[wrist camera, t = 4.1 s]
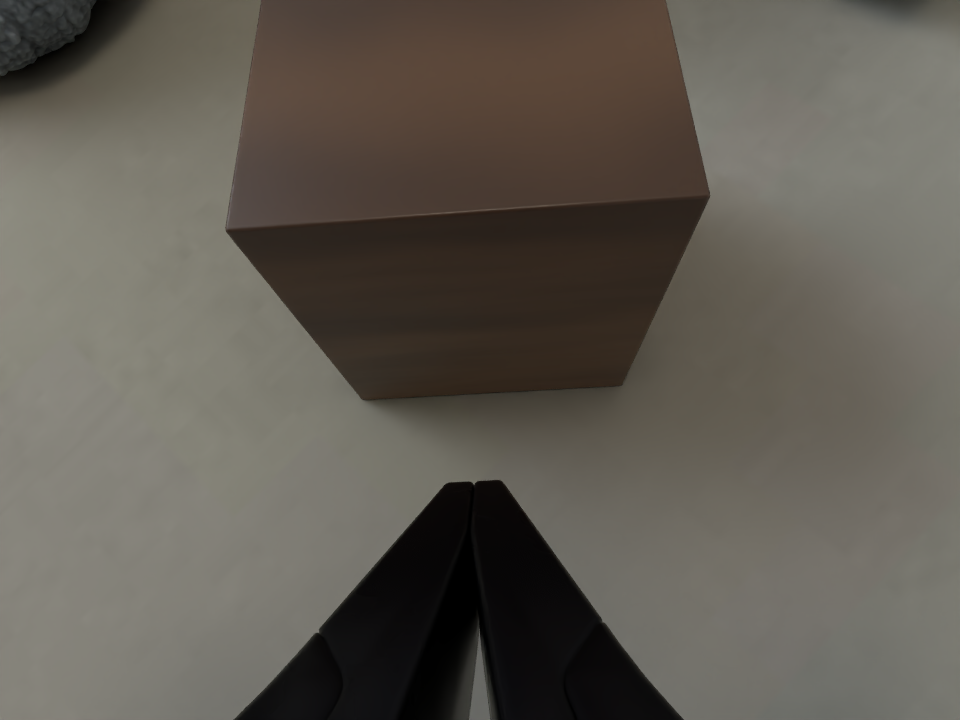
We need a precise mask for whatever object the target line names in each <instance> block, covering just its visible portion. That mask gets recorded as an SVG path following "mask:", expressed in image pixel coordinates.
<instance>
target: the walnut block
mask: <svg viewBox="0 0 960 720" xmlns="http://www.w3.org/2000/svg"><path fill="white" fill-rule="evenodd" d="M709 198H710V192H709V188H708V183H707V179H706V174H705V170H704V166H703V161H702V157H701V153H700V148H699V144H698V139H697V135H696V131H695V126H694V122H693V118H692V113H691V109H690V104H689V100H688V96H687V91H686V87H685V83H684V78H683V74H682V69H681V65H680V61H679V56H678V52H677V48H676V43H675V39H674V35H673V30H672V26H671V21H670V17H669V13H668V8H667V4H666V0H261V6H260V12H259V19H258V25H257V31H256V38H255V44H254V50H253V57H252V63H251V69H250V76H249V82H248V88H247V95H246V101H245V108H244V114H243V120H242V127H241V133H240V139H239V146H238V152H237V158H236V165H235V171H234V177H233V184H232V190H231V196H230V203H229V209H228V215H227V222H226V232H227V233H228V235H229V236H230V237H231V238H232V240H233V241H234V242H235V243H236V245H237V246H238V247H239V248H240V249H241V251H242V252H243V253H244V254H245V256H246V257H247V258H248V259H249V261H250V262H251V263H252V264H253V266H254V267H255V268H256V269H257V270H258V272H259V273H260V274H261V275H262V277H263V278H264V279H265V280H266V282H267V283H268V284H269V285H270V287H271V288H272V289H273V290H274V291H275V293H276V294H277V295H278V296H279V298H280V299H281V300H282V301H283V303H284V304H285V305H286V306H287V307H288V309H289V310H290V311H291V312H292V314H293V315H294V316H295V317H296V319H297V320H298V321H299V322H300V324H301V325H302V326H303V327H304V328H305V330H306V331H307V332H308V333H309V335H310V336H311V337H312V338H313V340H314V341H315V342H316V343H317V344H318V346H319V347H320V348H321V349H322V351H323V352H324V353H325V354H326V356H327V357H328V358H329V359H330V361H331V362H332V363H333V364H334V365H335V367H336V368H337V369H338V370H339V372H340V373H341V374H342V375H343V377H344V378H345V379H346V380H347V382H348V383H349V384H350V385H351V386H352V388H353V389H354V390H355V391H356V393H357V394H358V395H359V396H360V398H361V399H363V400H369V399H387V398H405V397H423V396H441V395H459V394H477V393H494V392H512V391H530V390H548V389H566V388H584V387H602V386H620V385H622V384H623V382H624V380H625V378H626V376H627V373H628V371H629V369H630V367H631V365H632V363H633V361H634V358H635V356H636V354H637V352H638V350H639V348H640V346H641V343H642V341H643V339H644V337H645V335H646V333H647V331H648V328H649V326H650V324H651V322H652V320H653V318H654V316H655V313H656V311H657V309H658V307H659V305H660V303H661V301H662V299H663V296H664V294H665V292H666V290H667V288H668V286H669V284H670V281H671V279H672V277H673V275H674V273H675V271H676V269H677V266H678V264H679V262H680V260H681V258H682V256H683V254H684V251H685V249H686V247H687V245H688V243H689V241H690V239H691V236H692V234H693V232H694V230H695V228H696V226H697V224H698V221H699V219H700V217H701V215H702V213H703V211H704V209H705V206H706V204H707V202H708V200H709Z"/></svg>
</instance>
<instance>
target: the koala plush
mask: <svg viewBox="0 0 960 720" xmlns="http://www.w3.org/2000/svg"><path fill="white" fill-rule="evenodd" d="M95 2H96V0H0V76H4V75H5V74H7V72H8V71H14V70H19V69H22V68H24V67H25V66H26V65H28V64H30V63H34V62H35V61H36V59H37V57H38V56H43V55H44V54H48V53H49V52H51V51H53V50H57V49H59V48H61V47H62V46H63V45H64V44H65V43H69V42H73V41H75V38H74V36H75V35H78V34H81V33H83V31H84V30H86V29H87V25H88V24H89V19H90V14H91V9H92V7H93V5H94V4H95Z"/></svg>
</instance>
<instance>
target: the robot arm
mask: <svg viewBox="0 0 960 720" xmlns="http://www.w3.org/2000/svg"><path fill="white" fill-rule="evenodd" d="M479 629H480V639H481V649H482V657H483V665H484V672H485V680H486V688H487V696H488V703H489V711H490V719H491V720H684V719H683V718H682V717H681V716H680V715H679V714H678V713H677V712H676V711H675V710H674V708H673V707H672V706H671V705H670V704H669V703H668V702H667V700H666V699H665V698H664V697H663V696H662V695H661V694H660V693H659V691H658V690H657V689H656V688H655V687H654V686H653V685H652V684H651V682H650V681H649V680H648V679H647V678H646V677H645V675H644V674H643V673H642V672H641V670H640V669H639V668H638V666H637V665H636V664H635V663H634V661H633V660H632V659H631V657H630V656H629V655H628V654H627V652H626V651H625V650H624V648H623V647H622V646H621V645H620V643H619V642H618V640H617V639H616V638H615V636H614V635H613V633H612V632H611V631H610V629H609V628H608V626H607V625H606V624H605V623H603V622H602V619H601V617H600V616H599V614H598V613H597V612H596V610H595V609H594V608H593V606H592V605H591V603H590V602H589V601H588V599H587V598H586V596H585V595H584V594H583V592H582V591H581V590H580V588H579V587H578V585H577V584H576V583H575V581H574V580H573V578H572V577H571V576H570V574H569V573H568V572H567V570H566V569H565V567H564V566H563V565H562V563H561V562H560V560H559V559H558V558H557V556H556V555H555V554H554V552H553V551H552V549H551V548H550V547H549V545H548V544H547V542H546V541H545V540H544V538H543V537H542V536H541V534H540V533H539V531H538V530H537V529H536V527H535V526H534V524H533V523H532V522H531V520H530V519H529V518H528V516H527V515H526V513H525V512H524V511H523V509H522V508H521V506H520V505H519V504H518V502H517V501H516V500H515V498H514V497H513V495H512V494H511V493H510V491H509V490H508V488H507V487H506V486H505V484H504V483H503V482H502V481H500V480H490V481H478V482H476V483H475V485H474V484H473V483H472V482H450V483H447V484H445V485H444V486H443V488H442V489H441V490H440V491H439V492H438V493H437V494H436V496H435V497H434V498H433V499H432V500H431V501H430V502H429V504H428V505H427V506H426V507H425V508H424V509H423V510H422V512H421V513H420V514H419V515H418V516H417V517H416V518H415V520H414V521H413V522H412V523H411V524H410V525H409V526H408V528H407V529H406V530H405V531H404V532H403V533H402V535H401V536H400V537H399V538H398V539H397V540H396V541H395V543H394V544H393V545H392V546H391V547H390V548H389V549H388V551H387V552H386V553H385V554H384V555H383V556H382V557H381V559H380V560H379V561H378V562H377V563H376V564H375V565H374V567H373V568H372V569H371V570H370V571H369V572H368V574H367V575H366V576H365V577H364V578H363V579H362V580H361V582H360V583H359V584H358V585H357V586H356V587H355V588H354V590H353V591H352V592H351V593H350V594H349V595H348V596H347V598H346V599H345V600H344V601H343V602H342V603H341V604H340V606H339V607H338V608H337V609H336V610H335V611H334V612H333V614H332V615H331V616H330V617H329V618H328V619H327V621H326V622H325V623H324V624H323V625H322V626H321V627H320V629H319V633H315V634H314V635H313V636H312V637H311V639H310V640H309V641H308V642H307V643H306V644H305V645H304V647H303V648H302V649H301V650H300V651H299V652H298V653H297V655H296V656H295V657H294V658H293V659H292V660H291V661H290V662H289V663H288V664H287V665H286V666H285V668H284V669H283V670H282V671H281V672H280V673H279V674H278V675H277V676H276V677H275V678H274V680H273V681H272V682H271V683H270V684H269V685H268V686H267V687H266V688H265V689H264V690H263V691H262V692H261V693H260V694H259V695H258V696H257V697H256V698H255V699H254V700H253V701H252V702H251V703H250V704H249V705H248V706H247V707H246V708H245V709H244V710H243V711H242V712H241V713H240V714H239V715H238V716H237V717H236V718H235V719H234V720H469V714H470V706H471V698H472V690H473V681H474V673H475V665H476V657H477V647H478V637H479Z"/></svg>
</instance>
